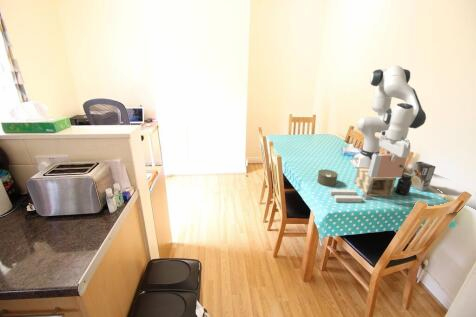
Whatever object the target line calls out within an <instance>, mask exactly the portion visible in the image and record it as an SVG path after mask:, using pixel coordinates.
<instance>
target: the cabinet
mask: <svg viewBox="0 0 476 317" xmlns="http://www.w3.org/2000/svg"><path fill="white" fill-rule="evenodd" d="M369 168H370V167H358V168H357V172H356V176H355V180H354V185H356V186H357V188H358V189H359V190H361V191H362V192H363V193H362V194H361V195H362V196H361V197H362V198H363V199H364V200H372V199H373V197H392V194H393V190H394V188H395V183H396V181H397V177H370V176H368V172H369Z"/></svg>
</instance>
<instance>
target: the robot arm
mask: <svg viewBox="0 0 476 317" xmlns="http://www.w3.org/2000/svg"><path fill="white" fill-rule="evenodd" d="M369 80H370V81H369V82H370V85H371V86H373V87H375V91H374V93H373V98H372V102H371V110H373V111H374V112H375V113H377V116H364V117H360V118H359V119H358V121H357V124H356V125H357V126H356V127H357V130H358V131H360V132H361V133H362V135H363V145H362V148H361V149H360V152H359V153H356V154H355V155H354V156H353V158H352V159H350V160H349V162H350V163H351V164H352V165H353V167H354V168H357V169H358V167H370V164H371V160H372V156H373V154H380V149H383V150H385V154H393V157H392V158H390V161H392V162H394V161H395V159H396V158H397V157H400V158H407V159H408V158H409V156H410V152H411V142H410V140H409V139H407V138H408V134H409V129H410V128H411V129H418V128H420V127H421V126H423V125H424V124H425V122H426V120H427V115H426V112H425V111H424V109H423V107H422V105H421V103H420V100H419V97H418V95H417V91H416V90H415V88H413V87H412V86H411V85H410V84H409V81H410V80H411V71H410V69H405V68H403V67H402V66H400V65H393V66H390V67H389V68H385V69H384V68H383V69H380V68H379V69H375V70H373V71H372V72H371V75H370V78H369ZM393 98H394V99H399V100H401V101H403V102H401V103H397V104H395V106H394V107H393V108H391V104H392V100H393ZM404 102H405V103H404ZM377 133H379V134H380V138H379V137H377V136H376V134H377Z"/></svg>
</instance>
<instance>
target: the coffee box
mask: <svg viewBox="0 0 476 317" xmlns="http://www.w3.org/2000/svg"><path fill="white" fill-rule="evenodd" d="M435 169H436V166H435V165H433V164H429V163H426V162H424V161H416V162H414V164H413V166H412V169H411V170H412V171H411V173H410V176H411V181H412V184H411V188H414V189H416V190H418V191H421V192H424V190H425V191H428V190H429V187H430V184H431V181H432V179H433V175H434V173H435Z"/></svg>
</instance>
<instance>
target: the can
mask: <svg viewBox="0 0 476 317" xmlns="http://www.w3.org/2000/svg"><path fill="white" fill-rule="evenodd" d="M338 176H339V174H338V172H336V171H334V170H331V169H320V170H318V175H317V183H318V184H319V185H321V186H324V187H336V185H337V180H338Z"/></svg>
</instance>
